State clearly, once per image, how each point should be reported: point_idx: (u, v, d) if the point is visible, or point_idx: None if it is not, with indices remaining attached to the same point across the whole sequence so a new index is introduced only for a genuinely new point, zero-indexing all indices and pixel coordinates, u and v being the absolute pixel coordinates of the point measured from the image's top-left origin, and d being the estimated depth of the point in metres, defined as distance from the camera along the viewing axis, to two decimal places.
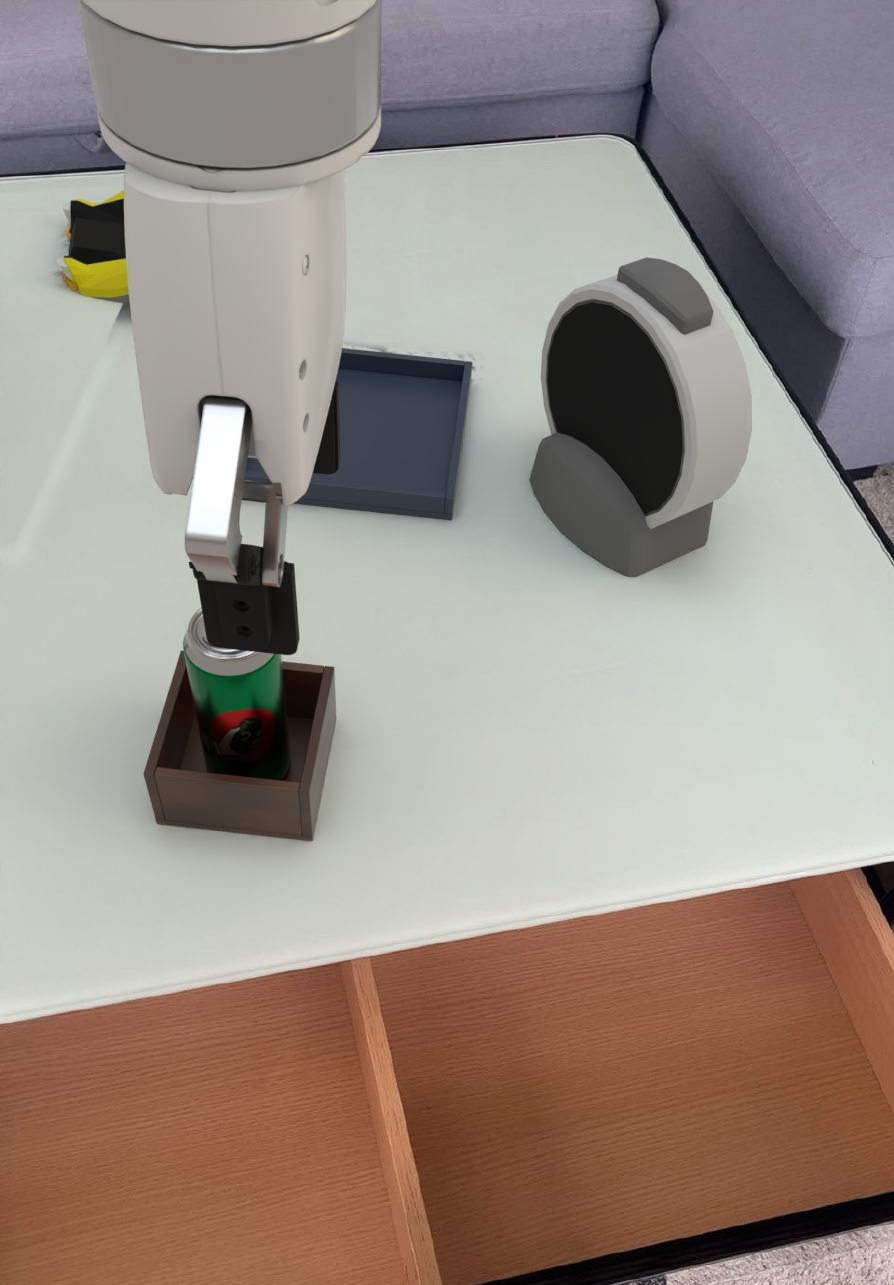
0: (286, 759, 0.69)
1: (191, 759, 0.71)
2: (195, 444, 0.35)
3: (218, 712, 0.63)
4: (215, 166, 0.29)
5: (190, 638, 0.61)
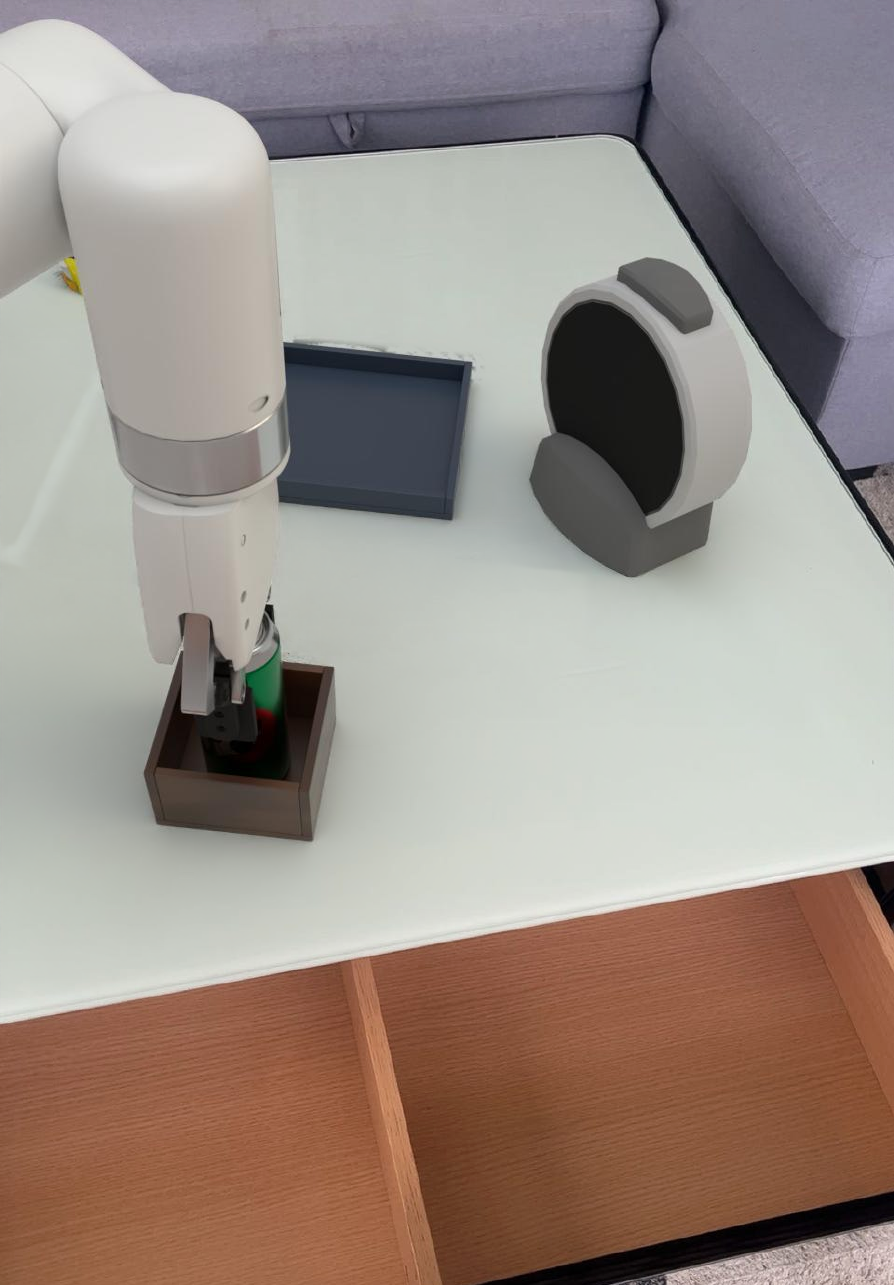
0: (286, 759, 0.69)
1: (191, 759, 0.71)
2: (176, 638, 0.55)
3: None
4: (186, 494, 0.49)
5: None
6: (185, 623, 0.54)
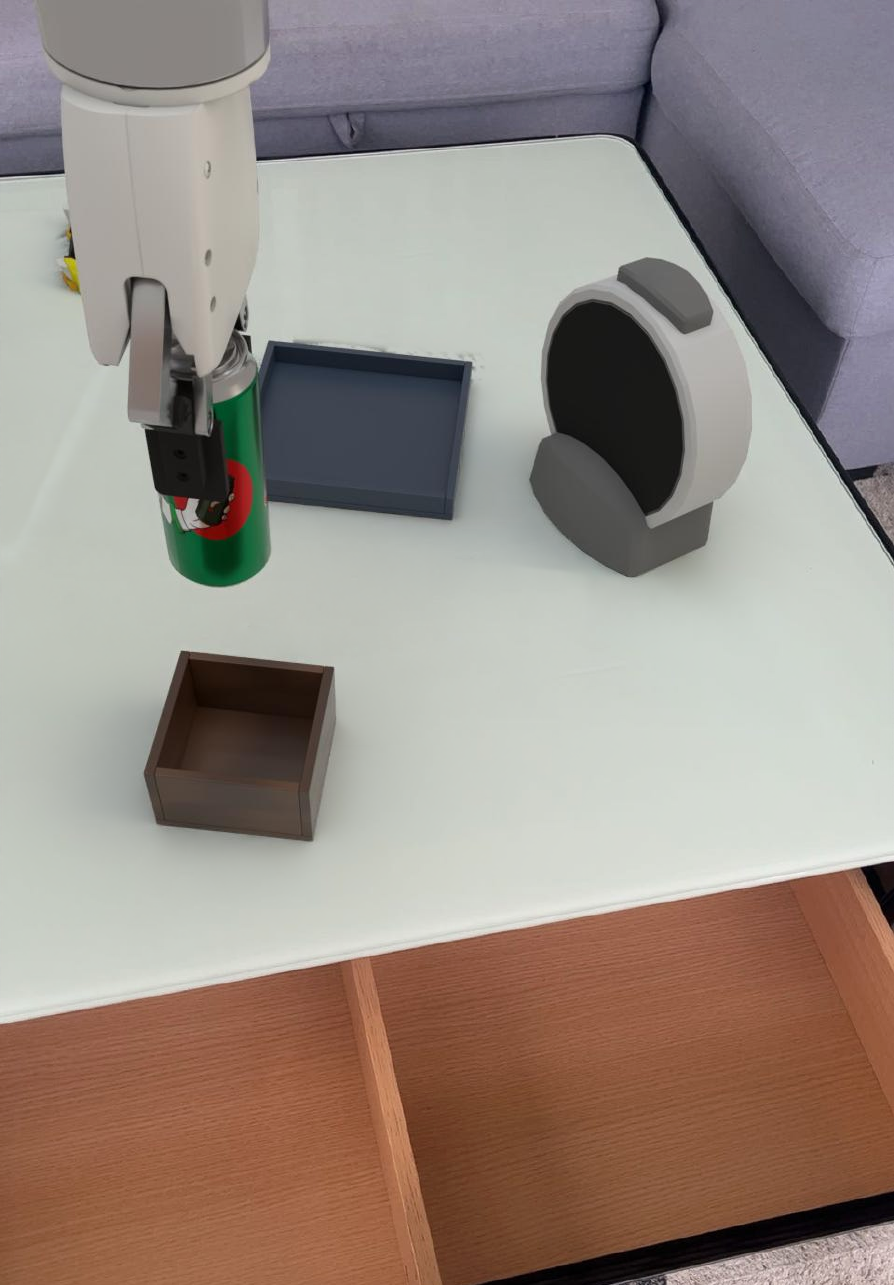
0: (265, 546, 0.57)
1: (191, 759, 0.71)
2: (123, 319, 0.43)
3: None
4: (131, 86, 0.37)
5: None
6: (133, 297, 0.42)
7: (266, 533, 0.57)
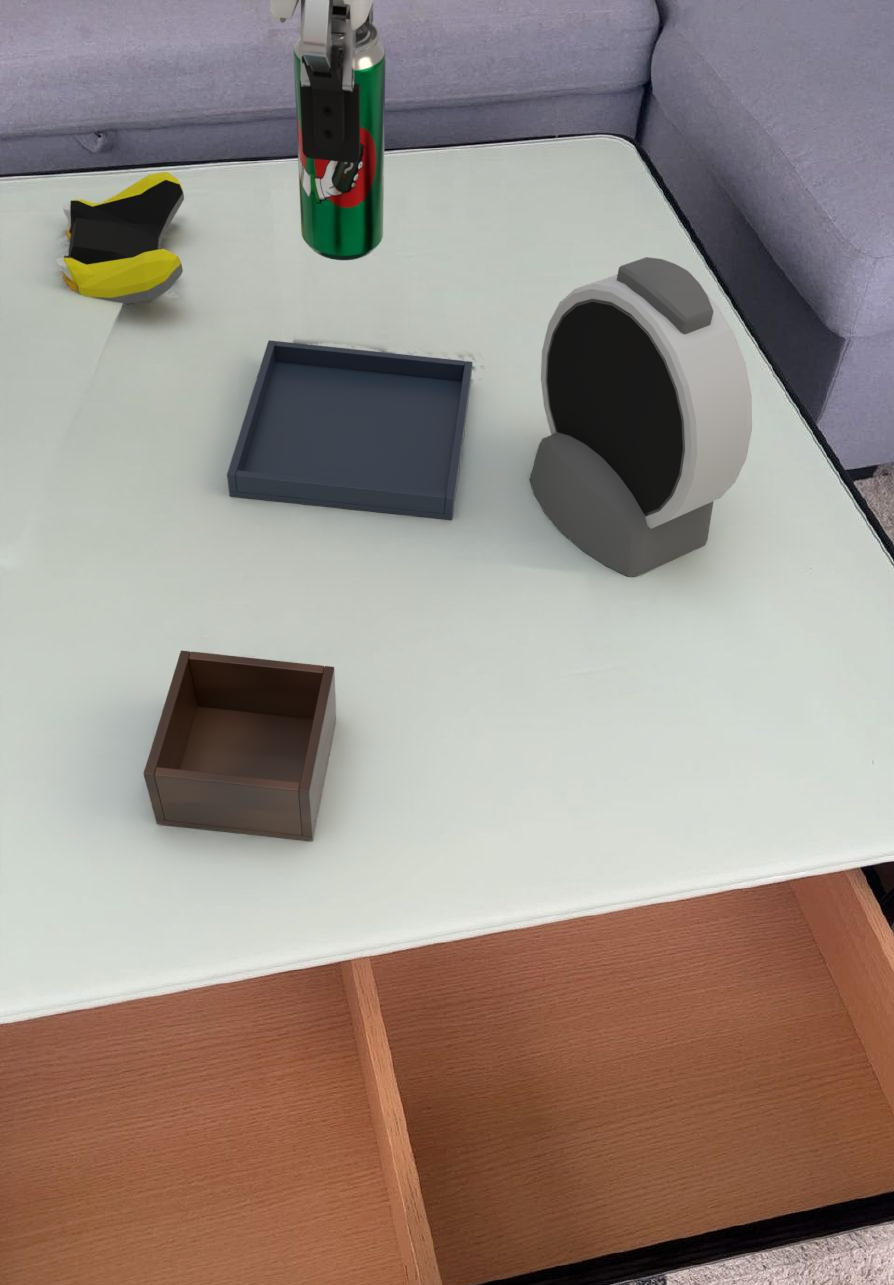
0: (380, 225, 0.72)
1: (191, 759, 0.71)
2: None
3: None
4: None
5: None
6: None
7: (381, 212, 0.72)
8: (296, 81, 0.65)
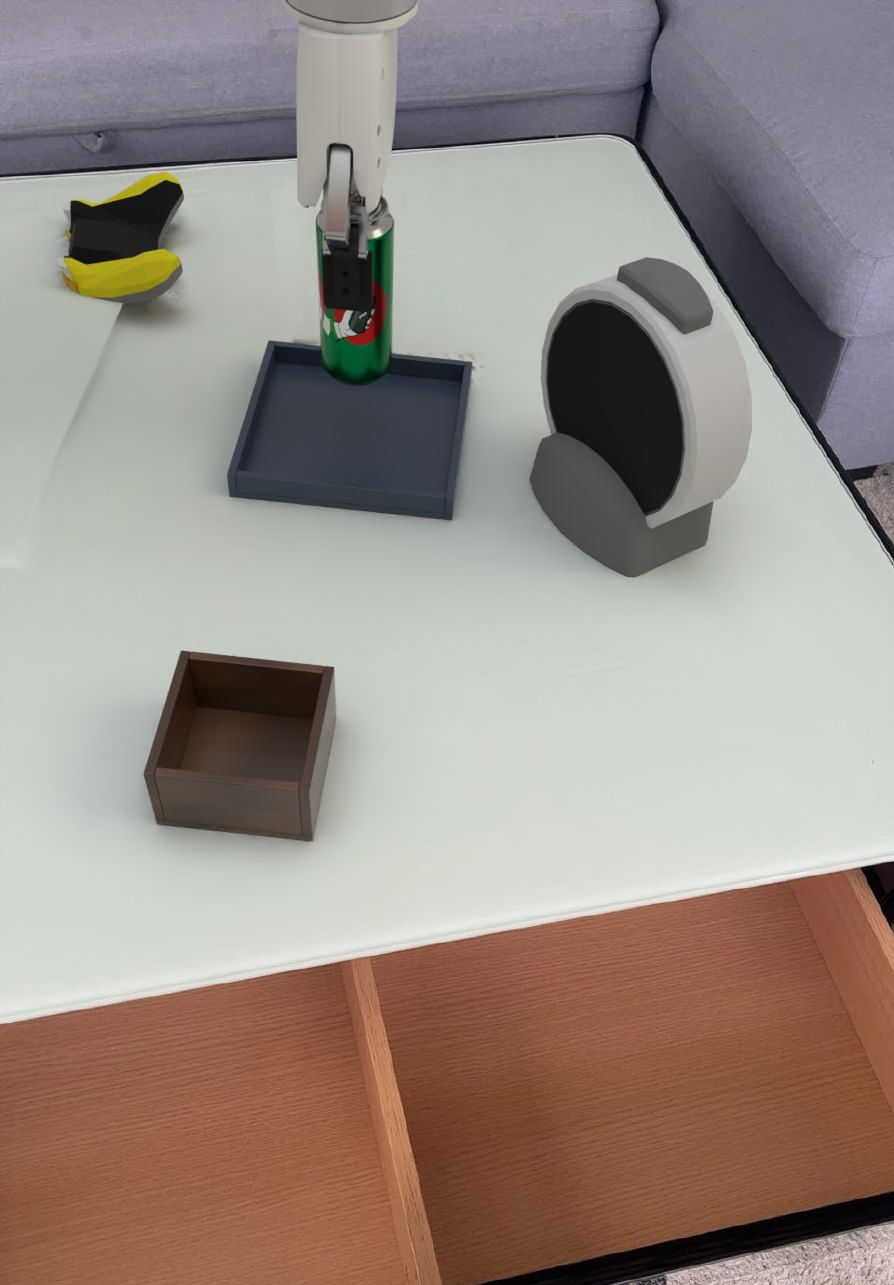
0: (390, 355, 0.83)
1: (191, 759, 0.71)
2: (323, 173, 0.69)
3: None
4: (343, 21, 0.63)
5: None
6: (331, 157, 0.68)
7: (391, 345, 0.83)
8: (318, 245, 0.76)
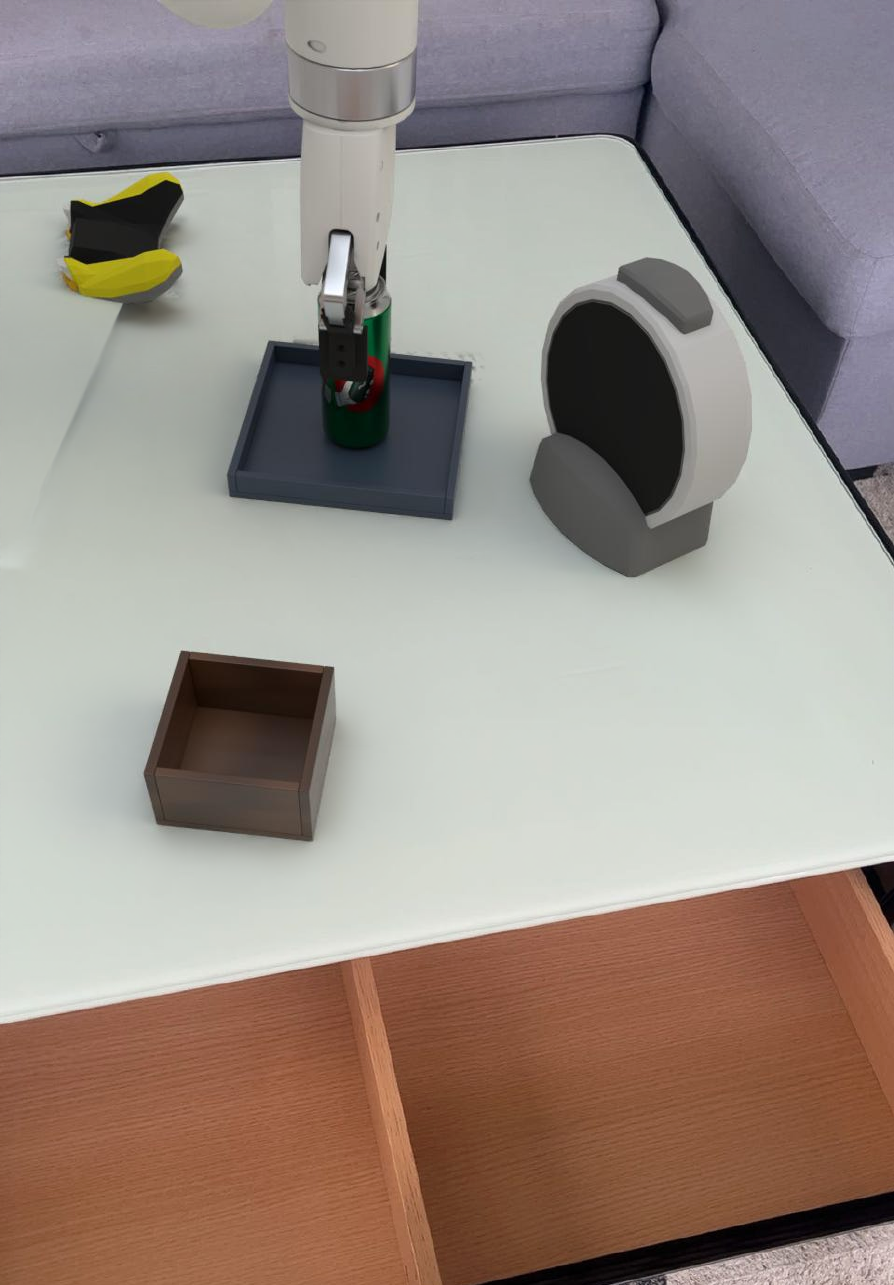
0: (387, 420, 0.88)
1: (191, 759, 0.71)
2: (325, 255, 0.73)
3: None
4: (344, 120, 0.67)
5: None
6: None
7: (388, 411, 0.87)
8: None
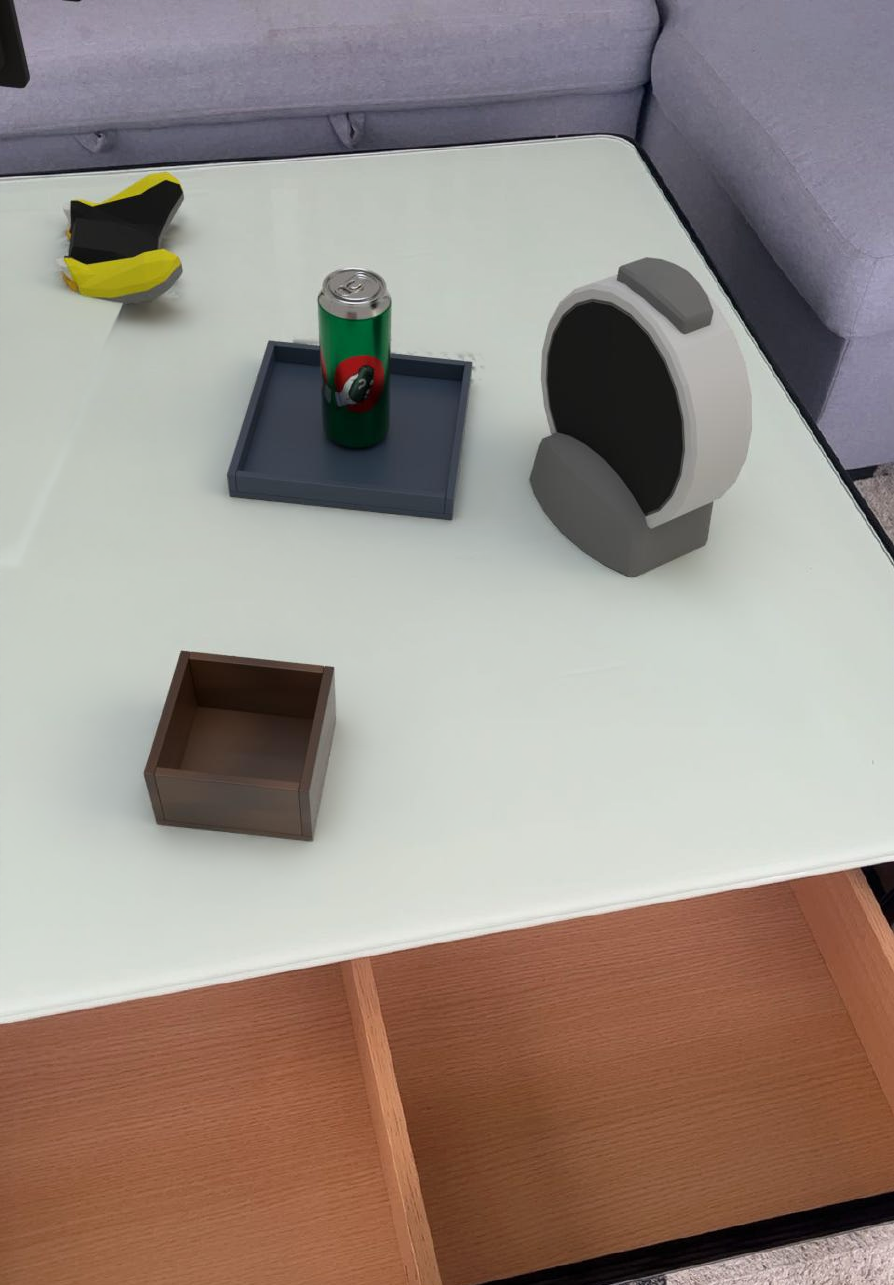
0: (387, 420, 0.88)
1: (191, 759, 0.71)
2: None
3: (342, 359, 0.82)
4: None
5: (325, 291, 0.79)
6: None
7: (388, 411, 0.87)
8: (320, 322, 0.81)
